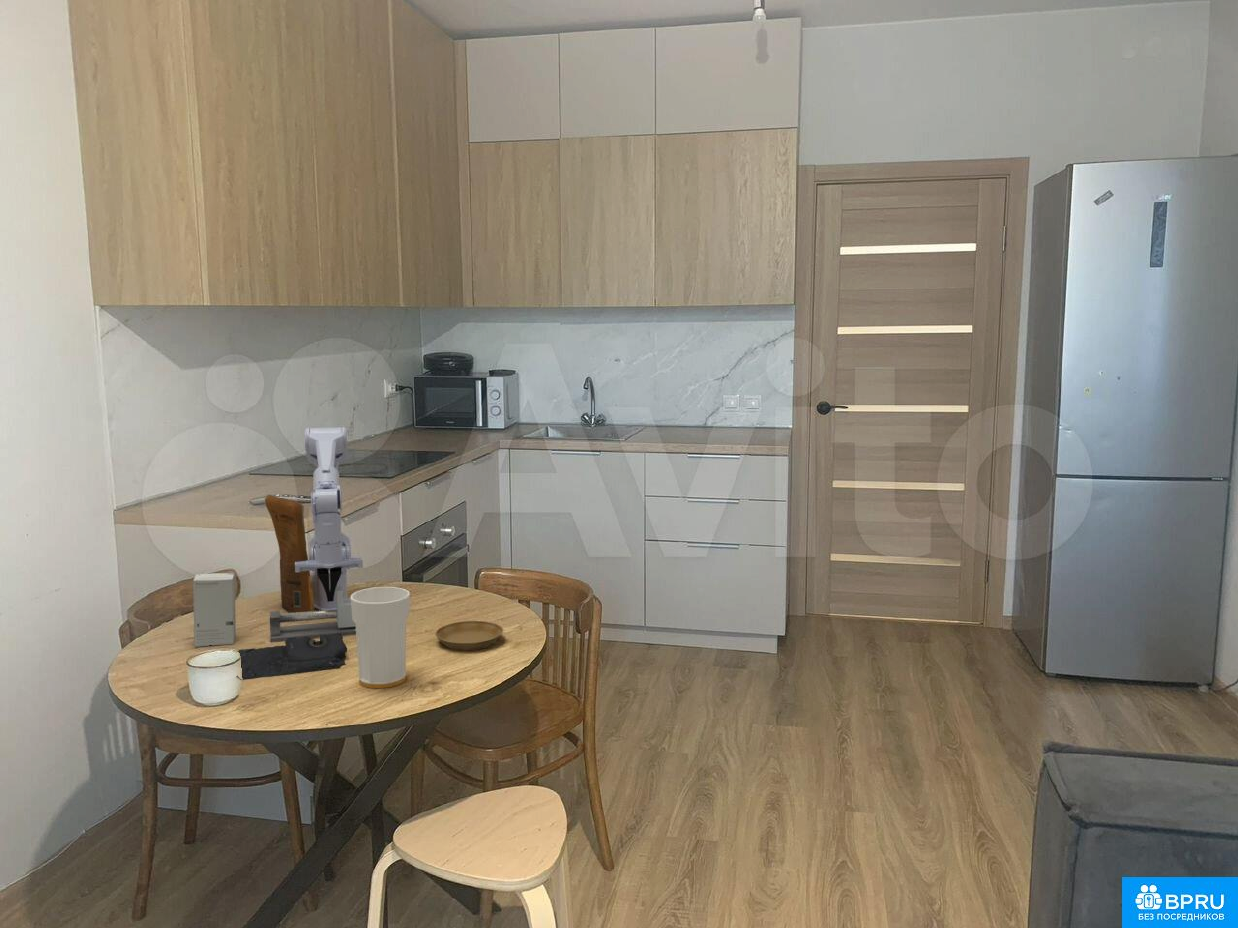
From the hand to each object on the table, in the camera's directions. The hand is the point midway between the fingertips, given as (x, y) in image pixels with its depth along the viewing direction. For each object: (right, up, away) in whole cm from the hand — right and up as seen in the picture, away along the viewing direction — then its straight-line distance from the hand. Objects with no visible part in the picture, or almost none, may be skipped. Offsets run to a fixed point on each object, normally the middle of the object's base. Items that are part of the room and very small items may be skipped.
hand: (330, 600), depth 216 cm
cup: (+19, -12, -27) cm, 35 cm away
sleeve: (+3, -6, +2) cm, 7 cm away
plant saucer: (+32, -9, -5) cm, 34 cm away
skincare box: (-23, -8, -6) cm, 25 cm away
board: (0, -7, +1) cm, 7 cm away
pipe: (0, -7, +1) cm, 7 cm away
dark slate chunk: (-3, -11, -18) cm, 21 cm away
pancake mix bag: (-13, -5, +16) cm, 21 cm away
